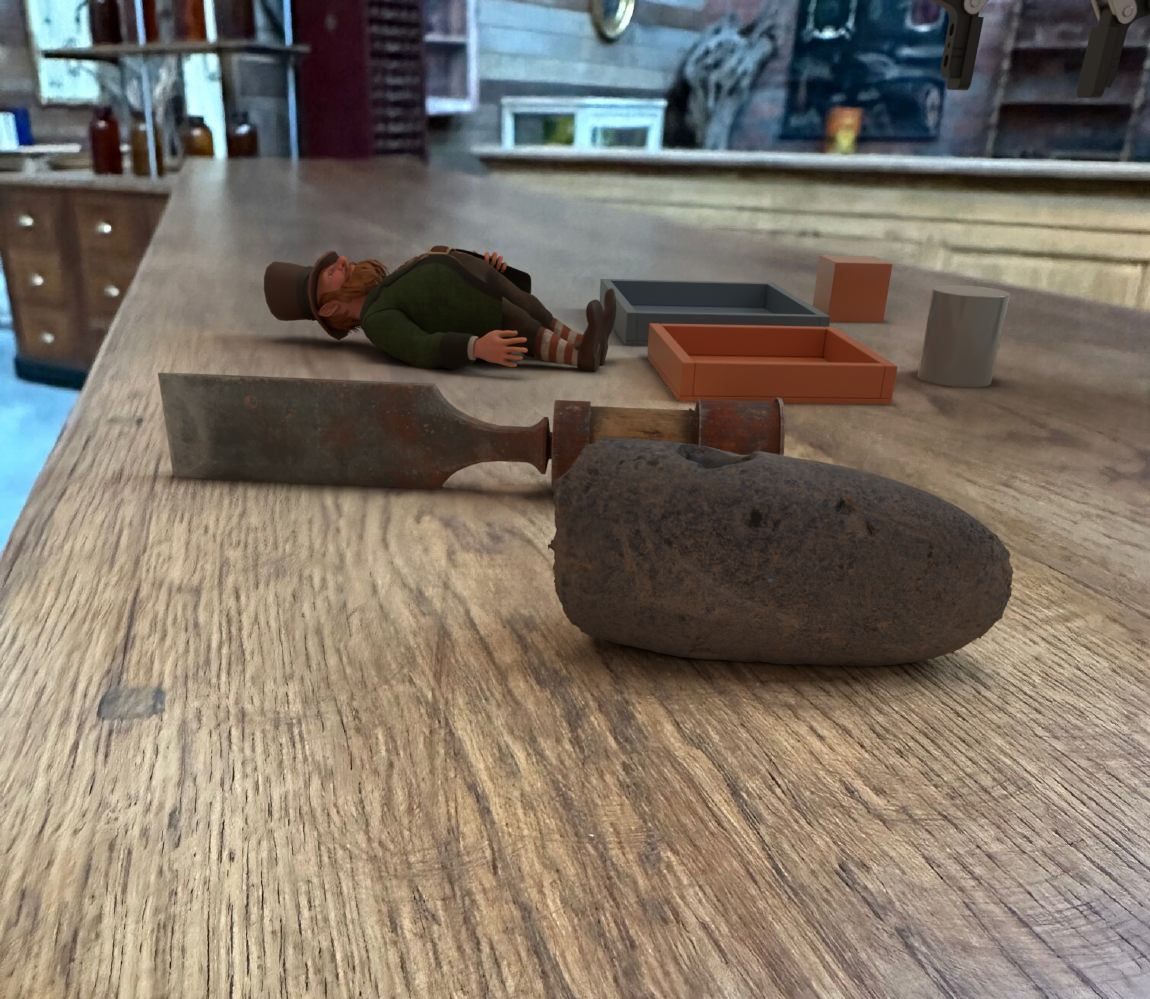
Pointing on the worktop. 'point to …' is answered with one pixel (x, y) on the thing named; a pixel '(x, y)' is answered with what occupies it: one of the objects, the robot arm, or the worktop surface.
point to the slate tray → (704, 305)
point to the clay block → (852, 288)
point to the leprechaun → (438, 309)
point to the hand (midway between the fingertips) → (1023, 94)
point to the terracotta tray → (768, 364)
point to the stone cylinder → (963, 335)
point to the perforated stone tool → (768, 558)
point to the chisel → (410, 431)
